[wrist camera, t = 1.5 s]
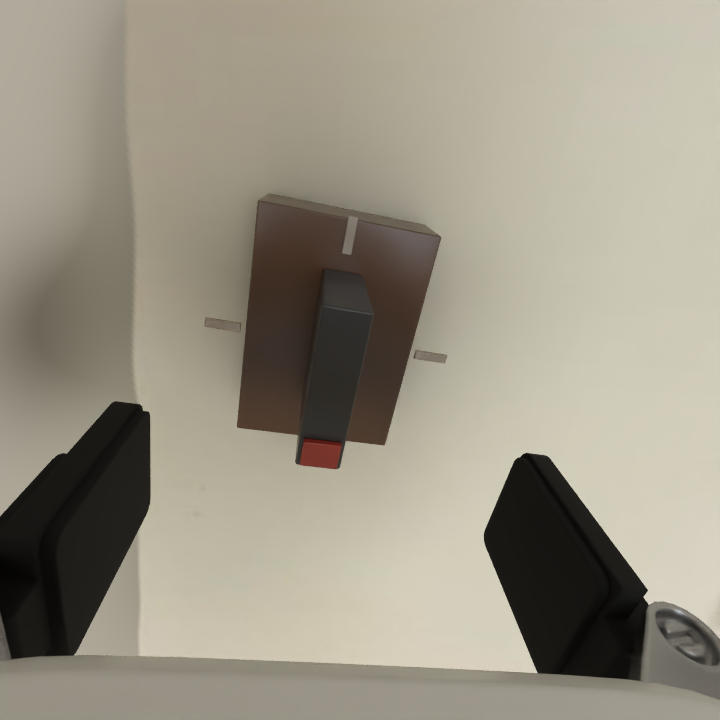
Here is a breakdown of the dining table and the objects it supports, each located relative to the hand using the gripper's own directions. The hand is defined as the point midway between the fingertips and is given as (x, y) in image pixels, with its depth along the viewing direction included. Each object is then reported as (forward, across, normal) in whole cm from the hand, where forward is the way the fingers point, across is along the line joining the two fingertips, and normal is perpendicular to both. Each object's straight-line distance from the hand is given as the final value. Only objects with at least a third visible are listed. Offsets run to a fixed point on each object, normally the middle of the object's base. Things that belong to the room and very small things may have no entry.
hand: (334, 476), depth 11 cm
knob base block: (+11, 0, 0) cm, 11 cm away
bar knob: (+8, 0, 0) cm, 8 cm away
